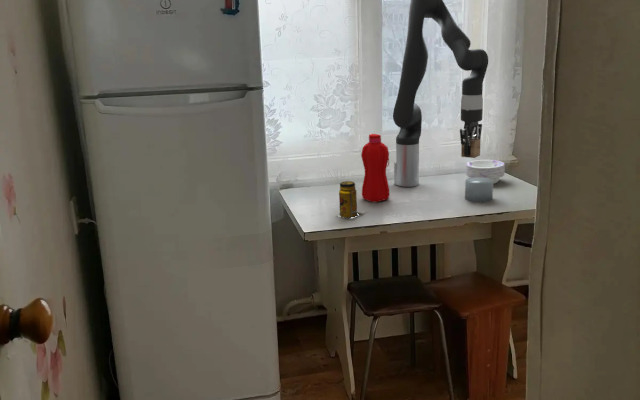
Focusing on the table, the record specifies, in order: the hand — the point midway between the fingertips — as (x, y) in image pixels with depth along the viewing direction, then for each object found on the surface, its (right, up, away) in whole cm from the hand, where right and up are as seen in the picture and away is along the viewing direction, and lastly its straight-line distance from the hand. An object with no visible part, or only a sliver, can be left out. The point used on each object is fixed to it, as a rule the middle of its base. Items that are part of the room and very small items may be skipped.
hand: (470, 154), depth 218 cm
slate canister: (+5, -16, +7) cm, 18 cm away
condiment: (-44, -22, -6) cm, 50 cm away
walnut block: (0, -1, 0) cm, 1 cm away
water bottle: (-33, -16, +12) cm, 38 cm away
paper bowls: (+13, -9, +29) cm, 34 cm away
